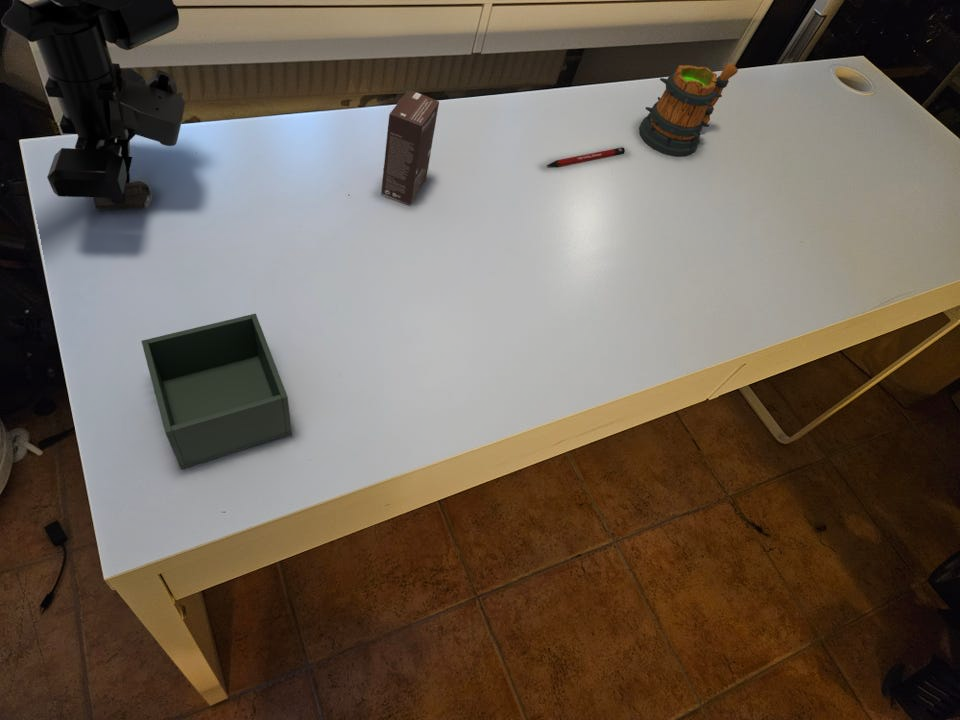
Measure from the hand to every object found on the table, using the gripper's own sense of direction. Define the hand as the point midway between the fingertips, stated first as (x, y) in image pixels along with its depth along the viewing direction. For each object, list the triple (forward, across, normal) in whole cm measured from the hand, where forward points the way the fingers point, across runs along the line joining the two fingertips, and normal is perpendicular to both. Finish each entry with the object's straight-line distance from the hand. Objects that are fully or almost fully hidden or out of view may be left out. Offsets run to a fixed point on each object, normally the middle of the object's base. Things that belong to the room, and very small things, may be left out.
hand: (122, 192), depth 76 cm
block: (+1, 0, 0) cm, 1 cm away
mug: (+1, +19, -77) cm, 79 cm away
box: (+1, +4, -33) cm, 33 cm away
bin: (+1, -29, -13) cm, 32 cm away
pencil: (+2, +12, -60) cm, 61 cm away
